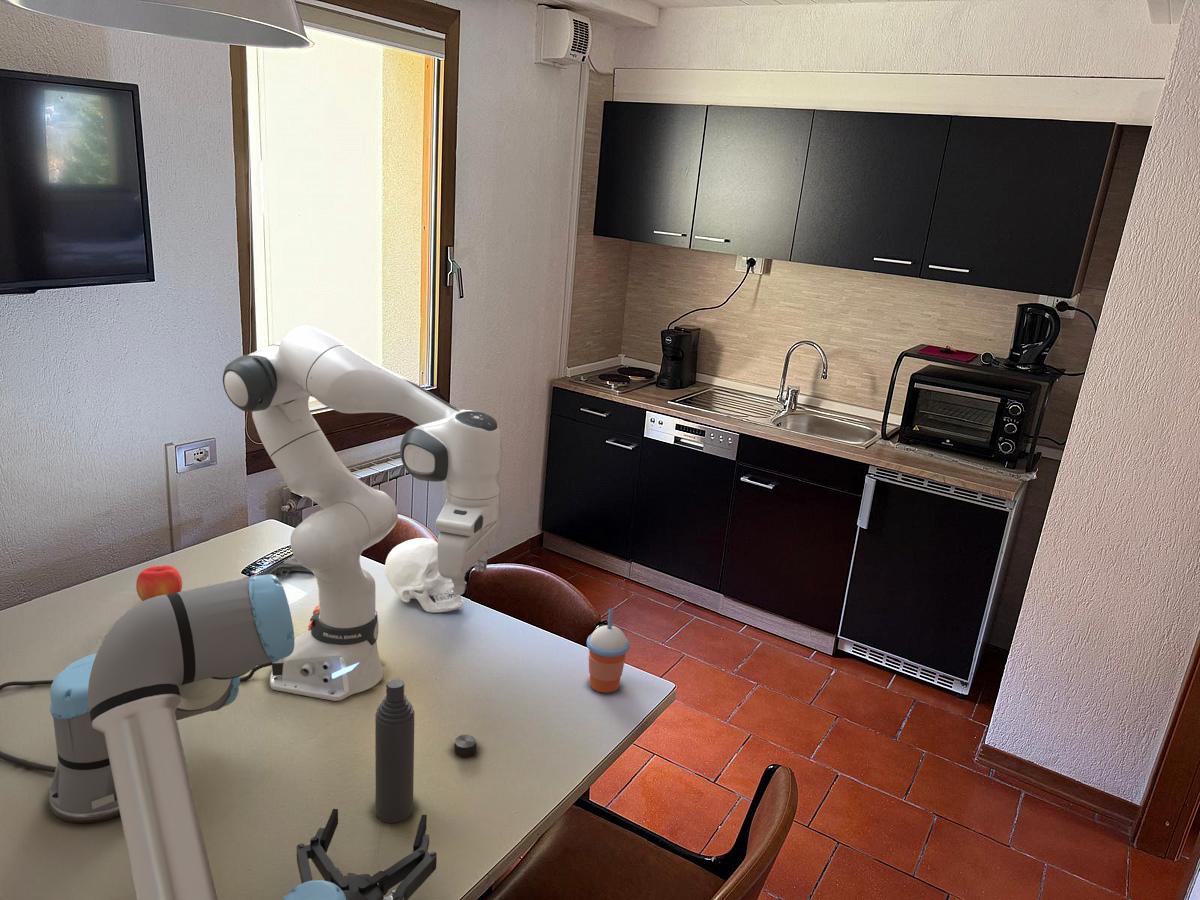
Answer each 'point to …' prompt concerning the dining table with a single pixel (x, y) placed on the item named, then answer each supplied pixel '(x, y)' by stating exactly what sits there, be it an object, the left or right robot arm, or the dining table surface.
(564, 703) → the dining table surface
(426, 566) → the skull
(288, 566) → the handgun
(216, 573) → the dining table surface
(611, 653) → the cup with straw
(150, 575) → the apple
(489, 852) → the dining table surface
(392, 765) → the bottle
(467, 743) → the cap
